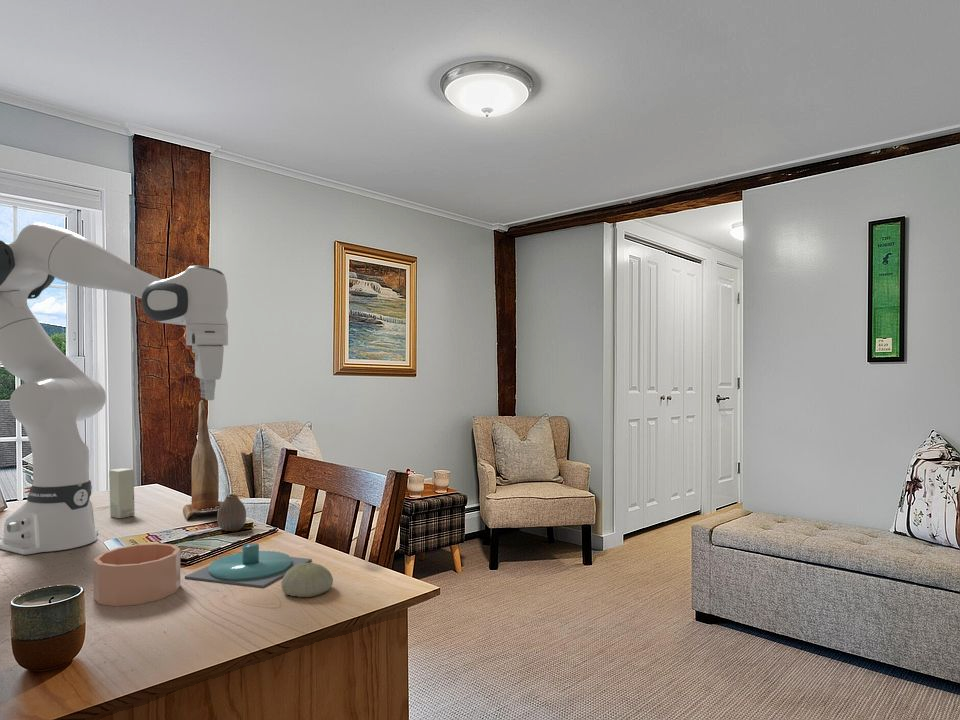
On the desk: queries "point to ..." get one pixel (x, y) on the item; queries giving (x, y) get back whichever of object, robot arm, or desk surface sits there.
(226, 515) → the vase
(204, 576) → the mat
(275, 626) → the desk surface
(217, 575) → the lid
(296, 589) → the sea urchin shell
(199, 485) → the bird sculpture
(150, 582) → the bowl
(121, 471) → the box
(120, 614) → the desk surface
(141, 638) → the desk surface
